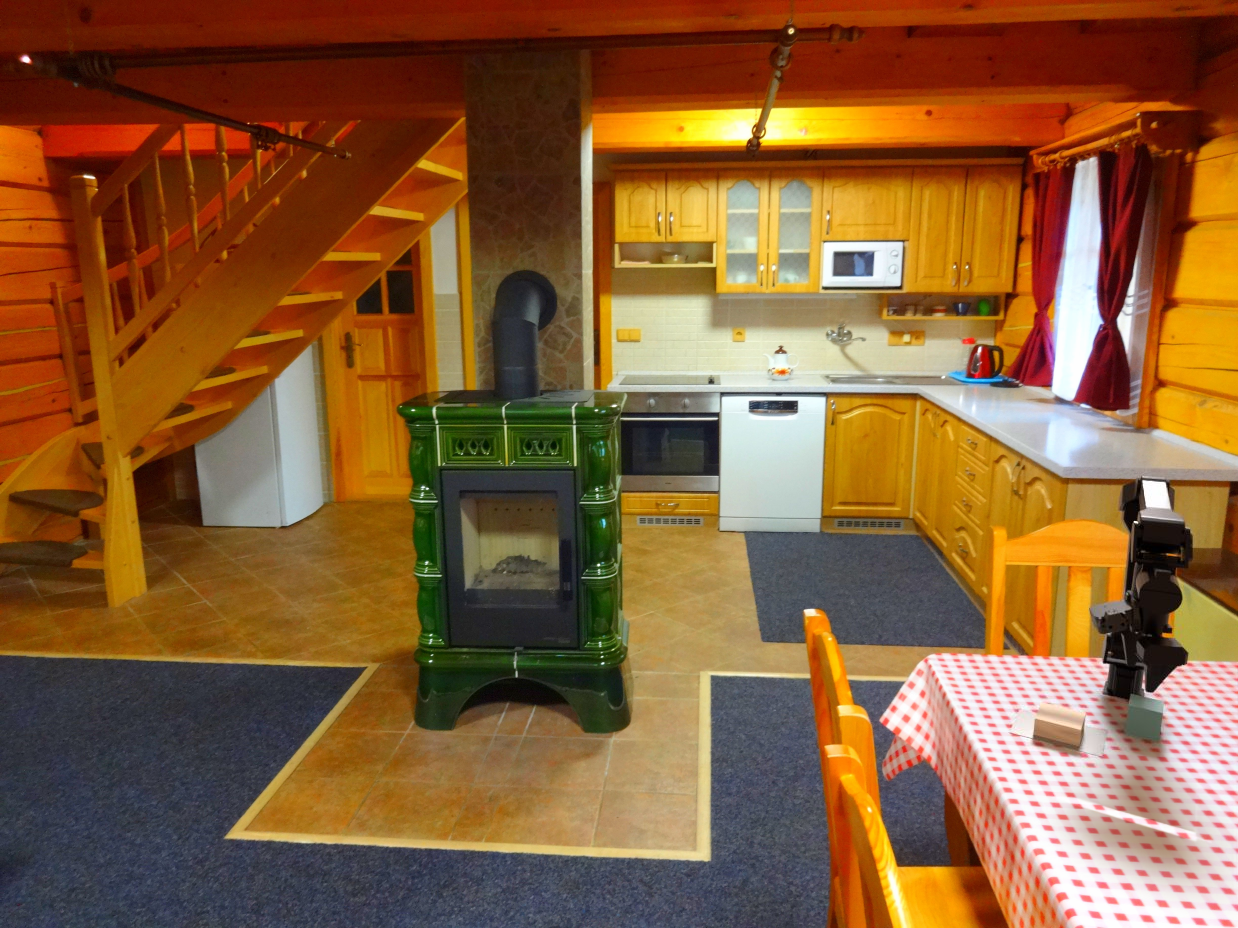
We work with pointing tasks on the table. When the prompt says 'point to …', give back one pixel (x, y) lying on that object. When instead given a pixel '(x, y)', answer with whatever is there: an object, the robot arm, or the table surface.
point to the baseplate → (1089, 742)
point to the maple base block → (1059, 723)
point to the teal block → (1144, 717)
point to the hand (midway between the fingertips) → (1139, 678)
